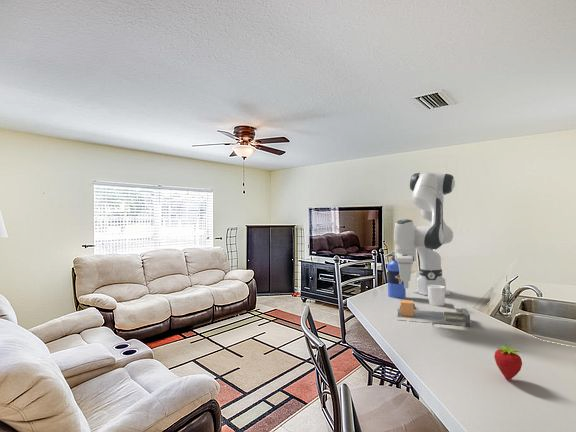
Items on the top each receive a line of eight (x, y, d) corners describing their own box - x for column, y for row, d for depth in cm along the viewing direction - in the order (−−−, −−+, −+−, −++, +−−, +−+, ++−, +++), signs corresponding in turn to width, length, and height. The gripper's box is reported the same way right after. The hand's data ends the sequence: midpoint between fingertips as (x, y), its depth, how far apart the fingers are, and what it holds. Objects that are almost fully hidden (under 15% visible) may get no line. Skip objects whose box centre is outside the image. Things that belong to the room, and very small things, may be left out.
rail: (398, 313, 144) (398, 303, 144) (468, 319, 133) (467, 308, 133) (397, 320, 134) (397, 309, 134) (472, 326, 124) (471, 315, 124)
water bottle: (384, 298, 173) (382, 252, 173) (397, 296, 176) (395, 251, 177) (396, 301, 164) (395, 254, 165) (409, 299, 168) (408, 253, 168)
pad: (400, 308, 152) (400, 301, 152) (416, 309, 150) (415, 302, 150) (399, 312, 146) (399, 304, 146) (416, 313, 143) (415, 305, 143)
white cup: (444, 310, 147) (443, 288, 148) (426, 307, 152) (425, 287, 152) (447, 306, 154) (446, 285, 154) (430, 303, 159) (429, 284, 159)
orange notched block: (401, 315, 137) (400, 302, 137) (401, 312, 141) (401, 299, 141) (413, 316, 135) (413, 303, 135) (413, 313, 139) (413, 300, 139)
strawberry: (515, 374, 86) (513, 337, 86) (528, 388, 79) (526, 348, 79) (491, 372, 88) (489, 336, 88) (501, 385, 80) (499, 346, 81)
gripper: (398, 253, 149) (399, 282, 149) (396, 259, 130) (397, 292, 130) (412, 254, 146) (413, 283, 146) (412, 259, 127) (414, 293, 127)
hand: (406, 287), depth 138 cm, fingers closed
